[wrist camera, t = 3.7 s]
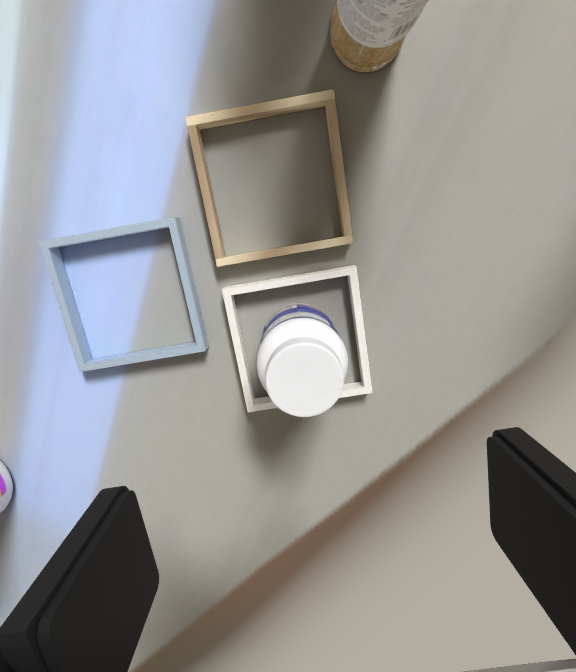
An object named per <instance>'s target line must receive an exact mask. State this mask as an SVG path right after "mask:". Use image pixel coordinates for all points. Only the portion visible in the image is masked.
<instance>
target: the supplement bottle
mask: <svg viewBox="0 0 576 672" xmlns="http://www.w3.org/2000/svg"><path fill="white" fill-rule="evenodd" d="M12 491H13V484H12V479H11V475H10V473H9V471H8V469H7V468H6V466H5V465H4V464H3V462H2V461H1V460H0V513H1V512H2V511H3V510H4V509H5V508H6V506H7V505H8V503H9V501H10V499H11V496H12Z"/></svg>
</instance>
